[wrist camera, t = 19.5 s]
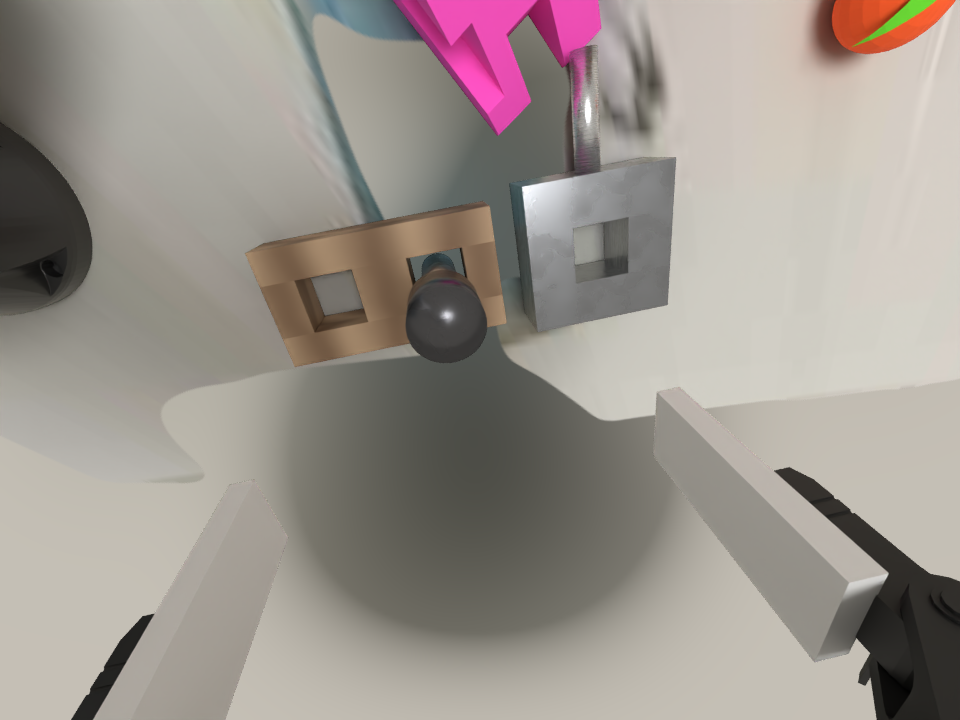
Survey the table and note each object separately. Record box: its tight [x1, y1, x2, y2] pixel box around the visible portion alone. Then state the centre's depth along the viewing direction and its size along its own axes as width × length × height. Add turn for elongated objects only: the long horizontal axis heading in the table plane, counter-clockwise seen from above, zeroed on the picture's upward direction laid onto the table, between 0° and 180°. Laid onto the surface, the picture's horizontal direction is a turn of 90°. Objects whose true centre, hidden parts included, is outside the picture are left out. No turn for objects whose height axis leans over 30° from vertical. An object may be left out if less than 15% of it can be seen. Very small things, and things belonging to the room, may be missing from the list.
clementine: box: [832, 0, 955, 54], centre depth 29 cm, size 8×7×7 cm
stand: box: [245, 201, 506, 367], centre depth 35 cm, size 19×10×4 cm, turn 100°
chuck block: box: [509, 45, 676, 332], centre depth 33 cm, size 12×20×5 cm, turn 10°
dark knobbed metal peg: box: [405, 253, 487, 363], centre depth 31 cm, size 5×5×14 cm
